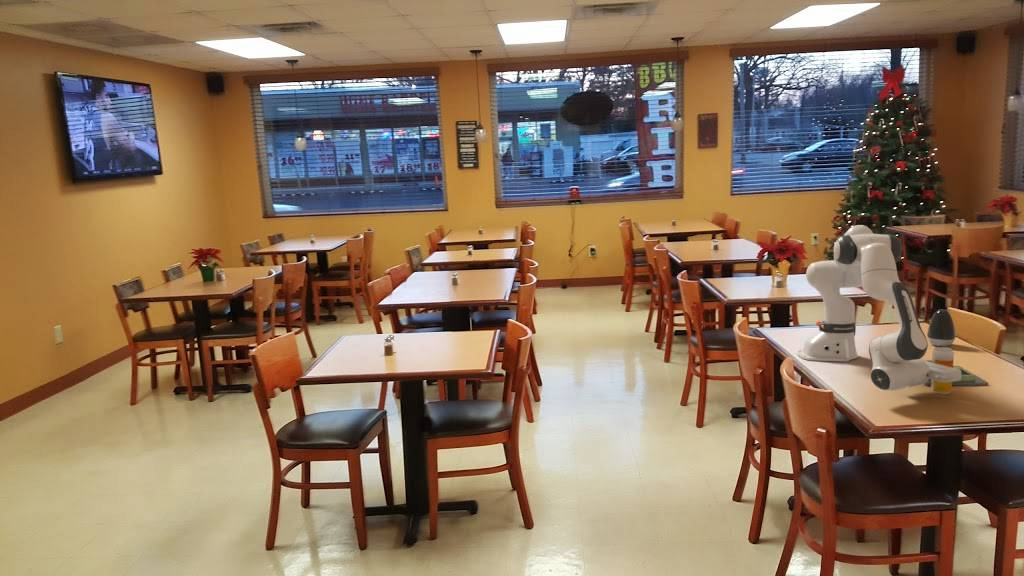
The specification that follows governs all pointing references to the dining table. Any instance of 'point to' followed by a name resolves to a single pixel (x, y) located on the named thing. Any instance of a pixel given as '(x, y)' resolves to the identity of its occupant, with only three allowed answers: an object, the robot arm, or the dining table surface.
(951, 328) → the dark grey egg shape
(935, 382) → the beer can
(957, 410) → the dining table surface
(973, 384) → the green and grey tray
